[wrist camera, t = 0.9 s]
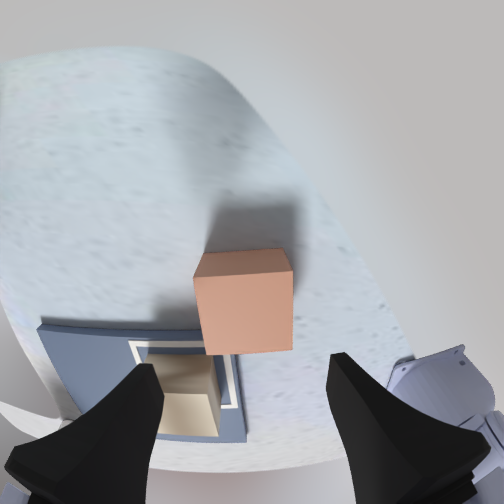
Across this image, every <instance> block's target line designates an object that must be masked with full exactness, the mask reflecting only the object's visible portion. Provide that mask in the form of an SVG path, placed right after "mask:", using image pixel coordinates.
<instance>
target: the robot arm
mask: <svg viewBox="0 0 504 504" xmlns="http://www.w3.org/2000/svg"><path fill="white" fill-rule="evenodd" d="M464 349H465V346H464V345H463V344H462V345H459V346H456V347H454V348H451V349H448V350H445V351H442V352H439V353H436V354H433V355H430V356H427V357H423V358H420V359H416V360H413V361H409V362H406V363H402V364H398V365H397V366H395V368H394V370H393V373H392V376H391V379H390V382H389V384H388V387H387V389H385V388H384V387H383V386H382V385H380V384H379V383H378V382H377V381H376V380H375V379H373V378H372V377H371V376H370V375H369V374H368V373H367V372H366V371H364V370H363V369H362V368H361V367H360V366H359V365H358V364H357V363H356V362H355V361H354V360H353V359H352V358H351V357H350V356H349V355H348V354H346V353H345V352H342V353H336V354H331V355H330V363H329V370H328V377H327V383H326V392H327V397H328V401H329V405H330V409H331V412H332V415H333V418H334V420H335V423H336V426H337V429H338V431H339V434H340V437H341V439H342V442H343V445H344V448H345V450H346V454H347V457H348V461H349V466H350V470H351V475H352V480H353V486H354V491H355V498H356V504H504V415H503V414H502V413H501V412H500V411H494V406H495V395H494V391H493V389H492V386H491V384H490V383H489V382H488V380H487V379H486V378H485V377H484V376H483V375H482V374H481V373H480V371H479V370H478V369H477V368H476V367H475V366H474V365H473V364H472V362H471V361H470V360H469V359H468V358H467V357H466V356H465V355H464V354H463V351H464ZM164 398H165V396H164V393H163V391H162V388H161V385H160V383H159V380H158V377H157V375H156V372H155V369H154V366H153V364H150V363H139V364H138V365H137V366H136V367H135V368H134V369H133V370H132V371H131V372H130V373H129V374H128V375H127V376H126V377H125V378H124V379H123V380H122V381H121V382H120V383H119V384H118V385H117V386H116V387H115V388H114V389H113V390H111V391H110V392H109V393H108V394H107V395H106V396H105V397H104V398H103V399H102V400H100V401H99V402H98V403H97V404H96V405H95V406H94V407H92V408H91V409H90V410H89V411H87V412H86V413H85V414H83V415H82V416H80V417H79V418H78V419H76V420H75V421H73V422H72V423H70V424H68V425H66V426H65V427H63V428H61V429H59V430H58V431H56V432H54V433H52V434H49V435H47V436H45V437H43V438H40V439H38V440H35V441H32V442H29V443H25V444H22V445H18V446H15V447H14V449H13V450H12V452H11V454H10V456H9V458H8V460H7V462H6V464H5V466H4V468H5V470H6V471H7V472H8V473H9V474H10V475H11V476H12V477H13V478H15V479H16V480H17V481H19V483H21V484H22V485H23V486H24V487H26V488H27V489H28V490H30V491H31V492H32V493H31V495H30V496H29V495H27V494H26V493H24V492H23V491H21V490H20V489H18V488H17V487H15V486H13V485H12V484H11V483H9V482H7V483H6V485H5V488H4V490H3V492H2V494H1V497H0V504H145V499H146V485H147V475H148V468H149V462H150V457H151V454H152V450H153V446H154V443H155V439H156V436H157V432H158V429H159V425H160V422H161V418H162V413H163V406H164Z"/></svg>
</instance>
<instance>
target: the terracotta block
mask: <svg viewBox="0 0 504 504" xmlns="http://www.w3.org/2000/svg"><path fill="white" fill-rule="evenodd" d="M193 281H194V288H195V294H196V300H197V306H198V312H199V317H200V323H201V329H202V334H203V339H204V344H205V349H206V354H207V355H230V354H250V353H264V352H276V351H287V350H292V344H293V270H292V268H291V265H290V263H289V261H288V259H287V256H286V254H285V252H284V250H283V248H274V249H259V250H245V251H230V252H215V253H203V255H202V258H201V260H200V262H199V265H198V267H197V269H196V272H195V274H194V276H193Z"/></svg>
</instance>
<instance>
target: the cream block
mask: <svg viewBox="0 0 504 504" xmlns="http://www.w3.org/2000/svg"><path fill="white" fill-rule="evenodd" d="M144 363H150V364H153V366H154V369H155V372H156V375H157V377H158V380H159V383H160V385H161V388H162V391H163V393H164V396H165V398H164V406H163V413H162V418H161V422H160V425H159V429H158V432H157V433H162V434H173V435H186V436H213V437H219V427H220V412H221V394H220V389H219V384H218V379H217V375H216V369H215V364H214V359H213V355H207V354H189V355H185V354H147V357H146V359H145V361H144Z"/></svg>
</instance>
